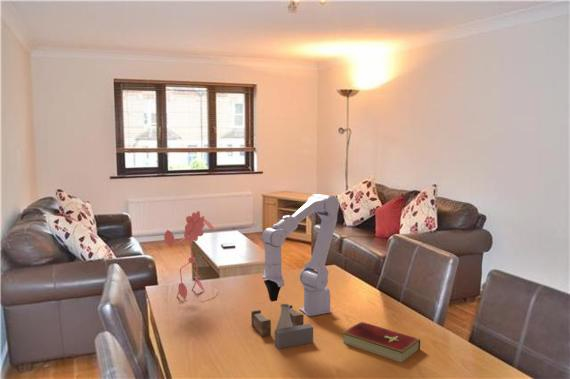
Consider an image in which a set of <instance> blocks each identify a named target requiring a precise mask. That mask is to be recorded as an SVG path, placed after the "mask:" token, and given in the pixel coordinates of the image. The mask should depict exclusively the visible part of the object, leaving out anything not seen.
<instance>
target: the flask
mask: <svg viewBox="0 0 570 379" xmlns="http://www.w3.org/2000/svg"><path fill="white" fill-rule="evenodd" d="M290 305H291V304H289V303H281V304H280V314H279V315H280V317H279V319H278V321H277V322H278V323H277V324H276V328H275V330H277V329H282V328H288V327H293V324H292V321H291V318H290V313H289V307H290Z"/></svg>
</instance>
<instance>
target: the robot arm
mask: <svg viewBox="0 0 570 379" xmlns="http://www.w3.org/2000/svg"><path fill="white" fill-rule="evenodd" d="M340 206H341V205H340V202H339V200H338V198H337V196H335V195H328V194H322V193H318V192H317V193H313V194H312V195H311V196H309V197H308V198H307V201H306V202H305V203H304V204H303V205H302V206H301V207H300V208H298V209H297V210H296V211H295V212H294V213H293V214H291V215H290V214H287V215H283V216H282V219H280V220H279V221H278V222H276V223H274V224H273V225H272V227H267V228H266V229H264V230H263V232H262V235H261V236H260V240H261V241H262V243H263V247H264V269H263V270H262V272H263V273H262V275H261V278H262V280H263V282H264V285H265V288H266V289H267V292H268V297H269V300H270V302H277V301H278V298H279V292H280V290H281V288H282V287H285V280H284V278H283V274H282V245H284V243H285V240H286V239H287V237H288V236H289V235H291V234H292V233H293V232H294V231H295V230H297V229H298V227H299V223H300V222H301V221H303V220H304V219H306V218H307V217H309V216H311V215H312V214H313V213H316V214H317V215H318V217H319V218H320V221H321V222H320V226H319V229H318V231H317V237H316V240H315V243H314V248H313V250H312V254H311V259H310V260H309V261H308V262H306V263H305V264H304V267H303V269H302V271H301V272H300V274H299V281H300V283H301V284H302V287H303V307H299V310H300V311H302V312H303V314H305V315H306V316H308V317H312V316H318V315H323V314H324V315H325V314H330V313H332V310H331V291H330V289H329V288H328V287H327V286H328V283H329V277H328V276H329V270H328V267H327V266H326V262H327V259H328V258H327V257H328V254H329V251H330V247H331V243H332V240H333V236H334V233H335V229H336V226H337V222H338V213H339V209H340Z"/></svg>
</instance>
